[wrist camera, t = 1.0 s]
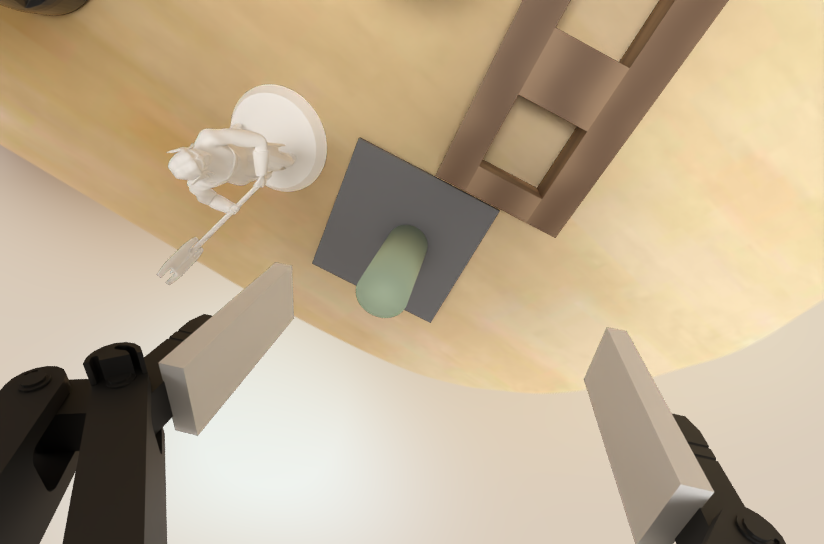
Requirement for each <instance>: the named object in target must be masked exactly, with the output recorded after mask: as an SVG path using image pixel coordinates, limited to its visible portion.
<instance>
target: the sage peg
mask: <svg viewBox="0 0 824 544" xmlns="http://www.w3.org/2000/svg"><path fill="white" fill-rule="evenodd" d="M427 248H428V243H427V239H426V237H425V235H424V234H423V232H422V231H421V230H419V229H418V228H416V227H414V226H411V225H400V226H398V227H396V228H394V229H393V230H392V231H391V232H390V234H389V235H388V237H387V238H386V240H385V241H384V243H383V245H382V246H381V248H380V249H379V251H378V252H377V254H376V255H375V257H374V258H373V260H372V261H371V263H370V264H369V266H368V268H367V269H366V271H365V272H364V274H363V275H362V277H361V278H360V280H359V281H358V283H357V286H356V296H357V300H358V302H359V304H360V305H361V306H362V308H363V309H364V310H366V311H367V312H368V313H370V314H372V315H374V316H376V317H380V318H391V317H394V316H397V315H399V314H400V313H401V312H402V311H403V310H404V309H405V308H406V306H407V303H408V300H409V298H410V295H411V292H412V290H413V287H414V284H415V281H416V279H417V276H418V273H419V271H420V268H421V265H422V263H423V260H424V257H425V254H426V252H427Z"/></svg>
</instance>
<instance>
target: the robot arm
mask: <svg viewBox="0 0 824 544" xmlns="http://www.w3.org/2000/svg"><path fill="white" fill-rule="evenodd" d="M86 1H87V0H0V5H2V6H5V7H8V8H11V9H15V10H18V11H23V12H30V13H36V14H43V15H63V14H67V13H70V12H72V11H74V10H76V9H78V8H79V7H81V6H82V5H83V4H84V3H85V2H86ZM293 319H294V306H293V276H292V265H286V264H281V263H276V262H275V263H274V264H273V265H272V266H271V267H269V268H268V269H267V270H266V271H265V272H264V273H262V274H261V275H260V276H259V277H258V278H257V279H255V280H254V281H253V282H252V283H251V284H250V285H248V286H247V287H246V288H245V289H244V290H243V291H242V292H240V293H239V294H238V295H237V296H236V297H234V298H233V299H232V300H231V301H230V302H229V303H227V304H226V305H225V306H224V307H223V308H222V309H220V310H219V311H218V312H217V313H216V314H215V315H213V316H211V315H206V314H204V315H201V316H199V317H197V318H195V319H192V320H190V321H189V322H187V323H186V324H185V325H184V326H183V327H181V328H180V329H179V331H178V332H175V333H174V334H173V335H172V336H170V338H169V339H166V340H165V341H164V342H163V343H161V344H160V345H159V346H158V347H157V348H156V349H154V350H153V351H152V352H150V353H149V354H148V355H147V356H145V357H143V353H142V350H141V348H140V346H138V345H136V344H134V343H128V342H124V343H114V344H111V345H108V346H104V347H102V348H100V349H98V350H96V351H94V352H93V353H91V354H90V355H89V356H88V357H87V358H86V359H85V361H84V363H83V365H84V368H85V370H86V373H87V376H88V379H78V380H77V379H76V380H68V377H67V375H66V373H65V371H64V369H62V368H59V367H57V366H56V367H55V366H46V367H40V368H35V369H32V370H29V371H26V372H24V373H22V374H20V375H18V376H16V377H14V378H13V379H11V380H10V381H9V382H8V383H7V384H6V385H4V387H3V388H2V389H1V390H0V544H39V543H40V541H41V539H42V537H43V535H44V533H45V531H46V529H47V527H48V525H49V523H50V521H51V519H52V517H53V515H54V513H55V511H56V509H57V507H58V505H59V503H60V501H61V499H62V497H63V495H64V493H65V491H66V489H67V487H68V485H69V483H70V481H71V479H72V477H73V475H74V473H75V471H76V473H75V479H74V484H73V490H72V496H71V500H70V506H69V511H68V517H67V523H66V528H65V533H64V539H63V544H167V524H166V523H167V521H166V480H165V479H166V477H165V434H164V430H163V426H164V425H165V424H166V423H167V422H168V421H169V420H170V419H171V418H172V419H173V423H174V427H175V430H177V431H181V432H185V433H189V434H193V435H197V436H198V435H199V434H200V432H201V431H202V430H203V429H204V428H205V426H206V425H207V424H208V423H209V421H210V420H211V419H212V418H213V417H214V415H215V414H216V413H217V412H218V410H219V409H220V408H221V406H222V405H223V404H224V403H225V402H226V401H227V399H228V398H229V397H230V396H231V394H232V393H233V392H234V391H235V390H236V388H237V387H238V386H239V385H240V384H241V382H242V381H243V380H244V378H245V377H246V376H247V375H248V374H249V372H250V371H251V370H252V369H253V368H254V366H255V365H256V364H257V363H258V361H259V360H260V359H261V358H262V356H263V355H264V354H265V353H266V352H267V350H268V349H269V348H270V347H271V346H272V344H273V343H274V342H275V341H276V339H277V338H278V337H279V336H280V335H281V333H282V332H283V331H284V329H285V328H286V327H287V326H288V325H289V324H290V322H291V321H292V320H293ZM584 381H585V385H586V388H587V391H588V394H589V397H590V401H591V404H592V407H593V410H594V413H595V417H596V420H597V423H598V426H599V429H600V432H601V436H602V439H603V442H604V445H605V448H606V452H607V455H608V458H609V461H610V464H611V468H612V471H613V474H614V477H615V480H616V484H617V487H618V490H619V493H620V496H621V499H622V503H623V506H624V509H625V512H626V516H627V519H628V522H629V525H630V528H631V531H632V535H633V538H634V541H635V544H673V543H674V542H676V544H786V543H785V541H784V539H783V537H782V536H781V535H780V534H779V533H778V531H777V530H776V529H775V528H774V527H773V526H772V525H771V524H770V523H769V522H768V521H767V520H765V519H764V518H763V517H761V516H760V515H759V514H757V513H755V512H754V511H752V510H750V509H748V508H746V507H745V506H744V504H743V503H742V501H741V499H740V498H739V496H738V494H737V493H736V491H735V489H734V488H733V486H732V484H731V483H730V481H729V479H728V477H727V476H726V474H725V473H724V471H723V469H722V467H721V466H720V464H719V463H718V461H716V457H715V456H714V454H713V452H712V451H711V449H709V448H708V447H709V446H708V444H707V442H706V441H705V439H704V437H703V436H702V434H701V432H700V431H699V430H698V429H697V428H696V427H695V426H694V425H693V424H692V423H691V422H690V421H689V420H688V419H687V418H686V417H685V416H680V415H676V414H672V413H671V412H670V409H669V408H668V406H667V404H666V402H665V400H664V398H663V397H662V395H661V393H660V391H659V389H658V388H657V386H656V384H655V382H654V380H653V378H652V376H651V374H650V373H649V371H648V369H647V367H646V365H645V363H644V362H643V360H642V358H641V356H640V354H639V352H638V351H637V349H636V347H635V345H634V343H633V341H632V340H631V338H630V336H629V334H628V332H627V331H624V330H619V329H614V328H609V327H607V328H606V330H605V332H604V335H603V337H602V339H601V341H600V344H599V346H598V348H597V351H596V353H595V355H594V357H593V360H592V362H591V364H590V366H589V369H588V371H587V373H586V376H585V378H584Z"/></svg>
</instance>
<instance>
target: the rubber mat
mask: <svg viewBox="0 0 824 544" xmlns="http://www.w3.org/2000/svg"><path fill="white" fill-rule="evenodd" d="M498 213H499V210H498V209H496V208H494V207H492V206H490V205H489V204H487V203H485V202H483V201H481V200H479V199H477V198H475V197H473V196H471V195H469V194H467V193H466V192H464V191H462V190H460V189H458V188H456V187H454V186H452V185H450V184H448V183H446V182H444V181H443V180H441V179H439V178H437V177H435V176H433V175H431V174H429V173H427V172H425V171H423V170H421V169H420V168H418V167H416V166H414V165H412V164H410V163H408V162H406V161H404V160H402V159H400V158H398V157H396V156H395V155H393V154H391V153H389V152H387V151H385V150H383V149H381V148H379V147H377V146H375V145H373V144H372V143H370V142H368V141H366V140H364V139H362V138H359V139H358V142H357V144H356V147H355V150H354V152H353V155H352V158H351V161H350V163H349V166H348V169H347V171H346V174H345V177H344V179H343V182H342V185H341V187H340V190H339V193H338V195H337V198H336V201H335V203H334V206H333V209H332V211H331V214H330V217H329V220H328V222H327V225H326V228H325V230H324V233H323V236H322V238H321V241H320V244H319V246H318V249H317V252H316V254H315V257H314V260H313V262H312V264H314V265H316V266H318V267H320V268H322V269H324V270H326V271H328V272H330V273H332V274H334V275H336V276H338V277H340V278H342V279H344V280H346V281H348V282H350V283H352V284H354V285H356V286H357V283H358V281H359V280H360V278H361V277H362V275H363V274H364V272H365V271H366V269H367V268H368V266H369V264H370V263H371V261H372V260H373V258H374V257H375V255H376V254H377V252H378V251H379V249H380V248H381V246H382V245H383V243H384V241H385V240H386V238H387V237H388V235H389V234H390V232H391V231H392V230H393V229H394V228H396V227H398V226H400V225H411V226H414V227H416V228H418V229H419V230H421V231H422V232H423V234H424V235H425V237H426V239H427V243H428V248H427V252H426V254H425V257H424V260H423V263H422V265H421V268H420V271H419V273H418V276H417V279H416V281H415V284H414V287H413V290H412V292H411V295H410V298H409V300H408V303H407V306H406V308H405V309H404V310H406V311H408V312H410V313H412V314H414V315H416V316H418V317H420V318H422V319H424V320H426V321H428V322H430V323H431V321H432V320H433V318H434V316H435V315H436V313H437V312H438V310H439V308H440V307H441V305H442V303H443V302H444V300H445V299H446V297H447V295H448V294H449V292H450V291H451V289H452V287H453V286H454V284H455V282H456V281H457V279H458V278H459V276H460V274H461V273H462V271H463V270H464V268H465V266H466V265H467V263H468V261H469V260H470V258H471V257H472V255H473V253H474V252H475V250H476V249H477V247H478V245H479V244H480V242H481V240H482V239H483V237H484V236H485V234H486V232H487V231H488V229H489V228H490V226H491V224H492V223H493V221H494V219H495V218H496V216H497V215H498Z"/></svg>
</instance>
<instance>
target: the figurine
mask: <svg viewBox="0 0 824 544" xmlns="http://www.w3.org/2000/svg"><path fill="white" fill-rule="evenodd" d="M178 151H179V152H178ZM175 152H178V153H176V154H175V155H174V156H173V157H172V158H171V159H170V161H169V164H168V168H169V169H170V171H171V172H172V173H173V175H174V176H175V177H176V178H177V179H183V180H188V181H187V185H188V186H189V190H190V192H191V193H192V194H194V195H196V197H197V200H198V201H199V202H200V203H203V204H206V205H209V206H210V207H211V208H213V209H216V210H219V211H221V212H224V213H226V214H225V215H224V216H223V217H222V218H221V219H220V220H219V221H218V222H217V223H216V224H215V225H214V226H213V227H212V228H211V229H210V230H209V231H208V232H207V233H206V234H205V235H204V236H203V237H202V238H201V239H200V240H198V238H197V237H194V238H192V239H190V240H189V241H187V242H186V243H185V244H183V245H182V246H181V247H180V248H179V249H178V250H177V251H176V252H175V253H174V254H173V255H172V256H171V257H170V258H169V259H168V260H167V261H166V262H165V263H164V265H163V266H162V267H161V269H160V270H159V272H158V273H157V275H158V276H159V277H160V278H161V277H162V276H163V275H164V274H165V273H166V272H167V271H168V270H169V269H171V272H170V273H173V272H175V273H174V274H173V276H171V278H169V279H168V280H167V281H166V283H167V284H168V285H170V284H172V283H173V282H175V281H176V280H177V279H179V278H180V277H181V276H182V275H183V274H184V273H185V272H186V271H187V270H188V269H189V268H190V267H191V266H192V265H193V264H194V263H195V262H196V261H197V259H198V258H199V257H200V255H201V254H202V252H203V250H204V249H203V248H202V247H201V246H202V245H203V244H204V243H205V242H206V241H207V240H208V239H209V238H210V237H211V236H212V235H213V234H214V233H215V232H216V231H217V230H218V229H219V228H220V227H221V226H222V225H223V224H224V223H225V222H226V221H227V220H228V219H229V218H230V217H231V216H232V215H235V214H236V213H237V212H238V211H239V210H240V207H241V206H242V205H243V204H244V203H245V202H246V201H247V200H248V199H249V198H250V197H251V196H252V195H253V194H254V193H255V192H256V191H257V190H258V189H259V188H260V187H261V188H263V186H267V187H269V188H272V189H274V190H278V191H283V192H293V191H297V190H301V189H303V188H305V187H308V186H309V185H310V184H312V183H313V182H314V181H315V180H316V179H317V177H318V176H319V175H320V173H321V171H322V169H323V167H324V165H325V160H326V156H327V141H326V134H325V131H324V128H323V125H322V123H321V121H320V119H319V117H318V115H317V113H316V112H315V110H314V109H313V108H312V106H311V105H310V104H309V103H308V102H307V101H306V100H305V99H304V98H303V97H302V96H300V95H299V94H298V93H296V92H295V91H293V90H291V89H288V88H286V87H284V86H279V85H274V84H266V85H260V86H257V87H254V88H252V89H250V90H249V91H247V92H246V93H245V94H244V95H243V96H242V97H241V98H240V99H239V101H238V102H237V104H236V106H235V108H234V111H233V114H232V118H231V127H230V128H224V129H211V128H207V129H203V130H202V131H201V132H200V133H199V135H198V137H197V139H196V141H195V143H194V144H193V143H192V144H191V145H190V147H180V148H178V149H175V150H171V151H169V152H166V153H175ZM255 180H257V181H256V182H255V184H254V185H253V188H252V189H251V190H250V191H249V192H248V193H246V194H245V195H244V196H243V197H242V198H241V199H240V200H239V201H238V202H237V203H236V204H235V203H233V202H232V201H230V200H228V199H227V198H225V197H223V196H221V195H219V194H217V193H216V192H215V191H214V190H213V189H211V188H213V187H218V186H220V185H222V184H225V183H227V182H229V183H231V184H234V185H239V186H243V185H246V184H248V183H249V182H251V181H255ZM195 243H196V244H195ZM194 244H195V245H194ZM193 245H194V246H193ZM192 246H193V247H192ZM191 247H192V248H191Z"/></svg>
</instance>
